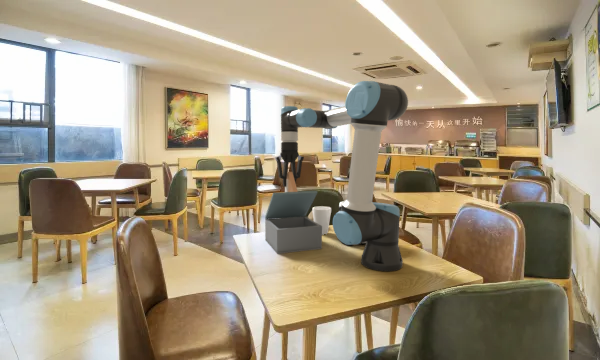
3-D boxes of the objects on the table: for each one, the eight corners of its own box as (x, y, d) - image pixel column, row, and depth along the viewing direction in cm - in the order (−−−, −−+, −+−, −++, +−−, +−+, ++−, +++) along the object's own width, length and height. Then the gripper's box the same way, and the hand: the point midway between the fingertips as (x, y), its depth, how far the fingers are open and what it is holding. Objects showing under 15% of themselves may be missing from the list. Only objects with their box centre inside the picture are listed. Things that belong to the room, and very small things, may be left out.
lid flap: (317, 192, 142) (310, 171, 148) (273, 194, 135) (268, 172, 142) (305, 216, 157) (299, 196, 164) (265, 219, 150) (261, 197, 157)
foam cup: (309, 234, 162) (309, 208, 161) (316, 230, 170) (317, 205, 169) (326, 236, 158) (326, 210, 156) (333, 232, 166) (334, 207, 164)
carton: (321, 248, 139) (322, 226, 138) (277, 253, 132) (277, 229, 131) (305, 236, 158) (305, 216, 157) (265, 240, 151) (265, 219, 150)
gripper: (302, 142, 151) (302, 191, 153) (271, 141, 146) (271, 193, 148) (308, 141, 144) (308, 194, 146) (275, 141, 139) (275, 195, 141)
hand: (289, 193), depth 147 cm, fingers closed on lid flap, 2 cm apart
